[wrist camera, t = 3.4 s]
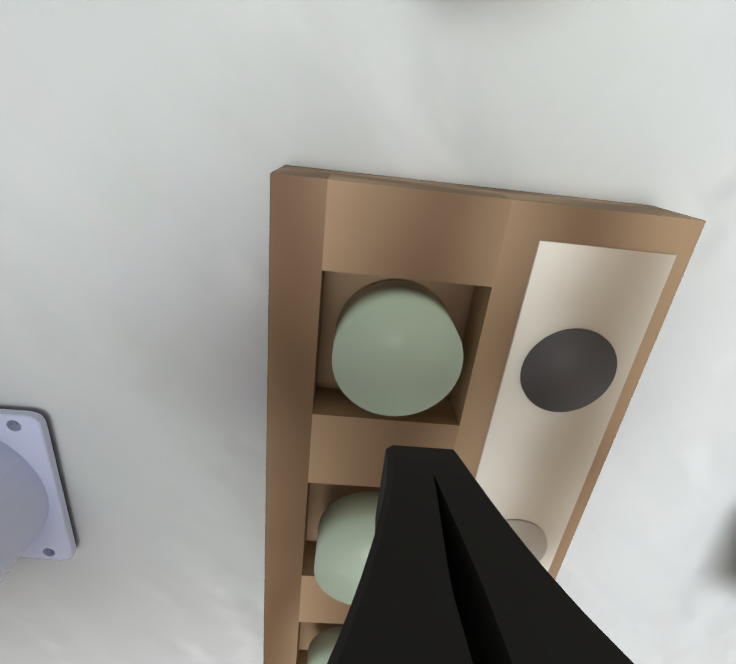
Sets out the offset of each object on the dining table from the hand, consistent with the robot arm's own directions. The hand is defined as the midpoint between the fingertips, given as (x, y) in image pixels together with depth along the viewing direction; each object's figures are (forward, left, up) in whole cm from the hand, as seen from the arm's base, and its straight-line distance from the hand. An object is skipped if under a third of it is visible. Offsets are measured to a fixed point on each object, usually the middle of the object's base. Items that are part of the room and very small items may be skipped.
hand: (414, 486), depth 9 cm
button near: (0, 0, -7) cm, 7 cm away
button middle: (0, -8, -6) cm, 10 cm away
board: (+2, -8, -8) cm, 12 cm away
